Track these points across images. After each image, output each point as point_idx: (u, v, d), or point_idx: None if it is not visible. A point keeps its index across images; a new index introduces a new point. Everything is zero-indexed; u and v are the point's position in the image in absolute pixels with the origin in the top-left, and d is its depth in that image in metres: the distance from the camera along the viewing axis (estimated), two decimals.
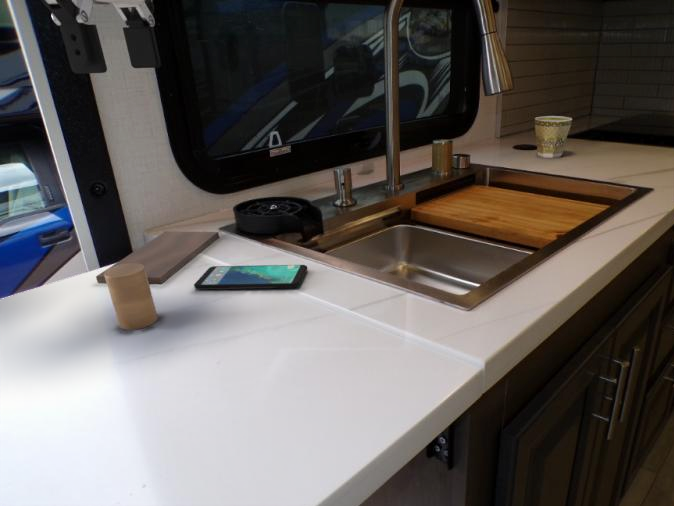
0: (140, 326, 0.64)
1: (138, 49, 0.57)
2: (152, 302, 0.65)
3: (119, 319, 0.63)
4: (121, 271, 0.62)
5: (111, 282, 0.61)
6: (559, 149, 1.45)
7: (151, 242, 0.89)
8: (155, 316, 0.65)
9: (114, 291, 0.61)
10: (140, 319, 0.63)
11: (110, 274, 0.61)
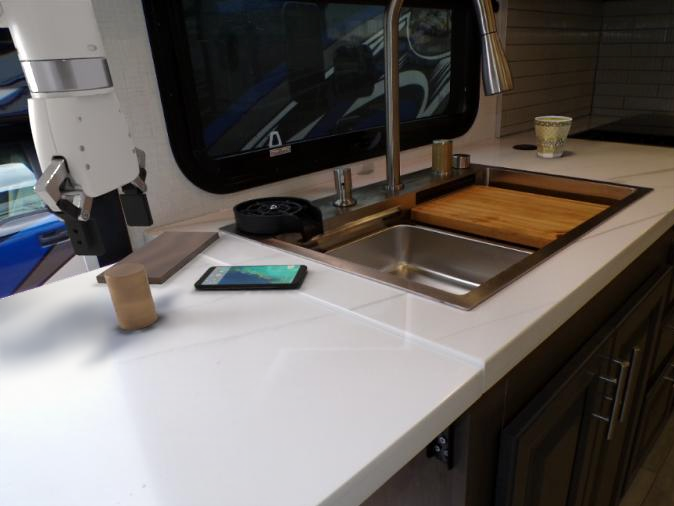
0: (140, 326, 0.64)
1: (133, 212, 0.64)
2: (152, 302, 0.65)
3: (119, 319, 0.63)
4: (121, 271, 0.62)
5: (111, 282, 0.61)
6: (559, 149, 1.45)
7: (151, 242, 0.89)
8: (155, 316, 0.65)
9: (114, 291, 0.61)
10: (140, 319, 0.63)
11: (110, 274, 0.61)
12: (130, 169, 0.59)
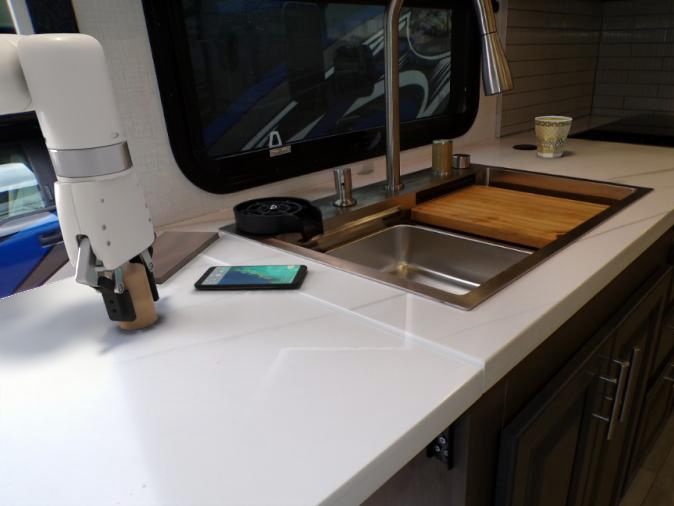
0: (140, 326, 0.64)
1: None
2: (152, 302, 0.65)
3: None
4: None
5: None
6: (559, 149, 1.45)
7: None
8: (155, 316, 0.65)
9: None
10: (140, 319, 0.63)
11: (110, 274, 0.61)
12: (146, 237, 0.63)
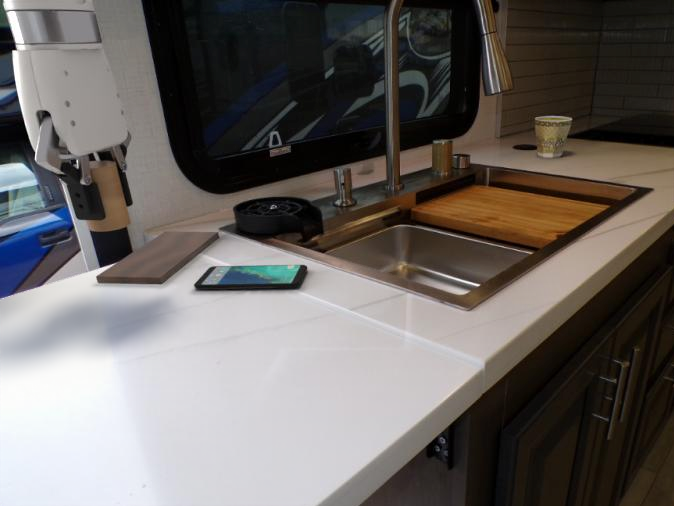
0: (110, 228, 0.59)
1: None
2: (124, 204, 0.60)
3: None
4: (90, 165, 0.57)
5: None
6: (559, 149, 1.45)
7: (151, 242, 0.89)
8: (127, 219, 0.60)
9: None
10: (111, 220, 0.58)
11: (77, 167, 0.56)
12: (117, 130, 0.58)
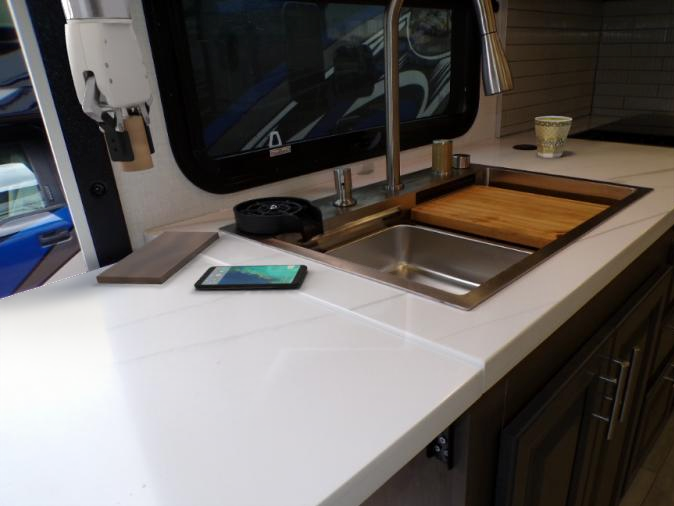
0: (138, 169, 0.74)
1: None
2: (148, 150, 0.75)
3: (120, 162, 0.73)
4: None
5: None
6: (559, 149, 1.45)
7: (151, 242, 0.89)
8: (151, 163, 0.75)
9: None
10: (138, 162, 0.73)
11: None
12: (143, 90, 0.73)
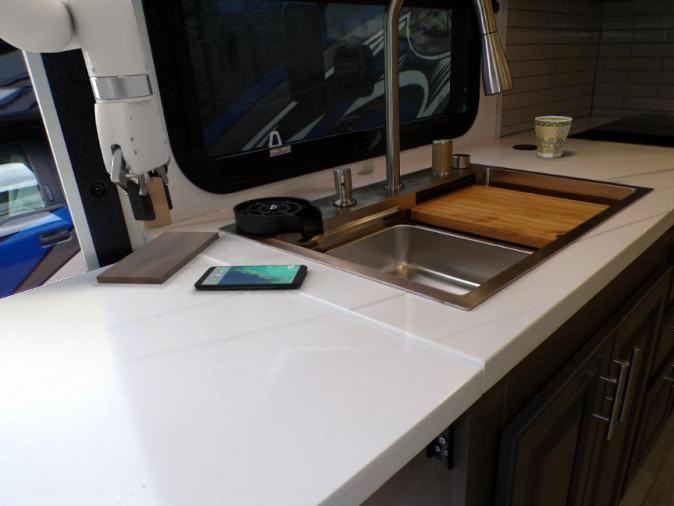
0: (158, 226, 0.81)
1: None
2: (168, 208, 0.82)
3: None
4: None
5: None
6: (559, 149, 1.45)
7: (151, 242, 0.89)
8: (170, 219, 0.82)
9: None
10: (159, 220, 0.80)
11: None
12: (162, 155, 0.80)
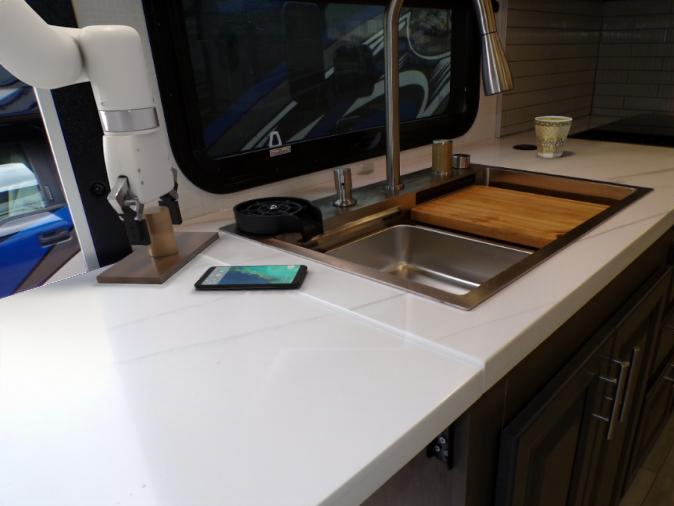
0: (165, 254, 0.83)
1: None
2: (174, 236, 0.84)
3: (149, 248, 0.82)
4: (151, 210, 0.81)
5: (144, 218, 0.80)
6: (559, 149, 1.45)
7: None
8: (176, 247, 0.84)
9: None
10: (165, 248, 0.82)
11: (143, 212, 0.80)
12: (168, 183, 0.82)
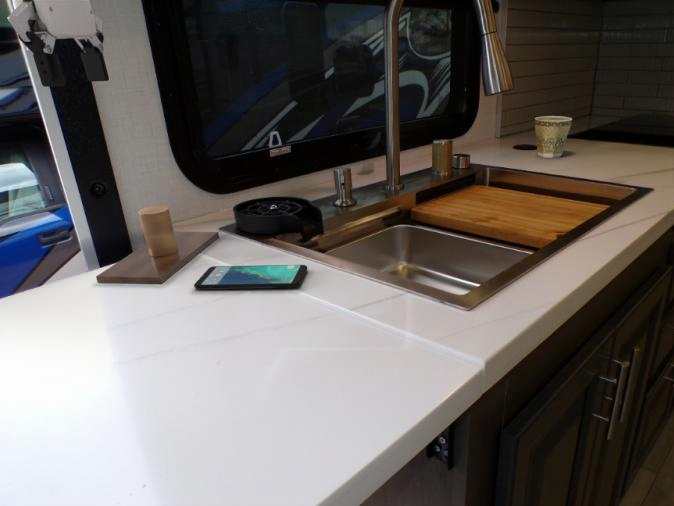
0: (165, 254, 0.83)
1: (92, 68, 0.79)
2: (174, 236, 0.84)
3: (149, 248, 0.82)
4: (151, 210, 0.81)
5: (144, 218, 0.80)
6: (559, 149, 1.45)
7: None
8: (176, 247, 0.84)
9: (146, 225, 0.80)
10: (165, 248, 0.82)
11: (143, 212, 0.80)
12: (87, 25, 0.75)
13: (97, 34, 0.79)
